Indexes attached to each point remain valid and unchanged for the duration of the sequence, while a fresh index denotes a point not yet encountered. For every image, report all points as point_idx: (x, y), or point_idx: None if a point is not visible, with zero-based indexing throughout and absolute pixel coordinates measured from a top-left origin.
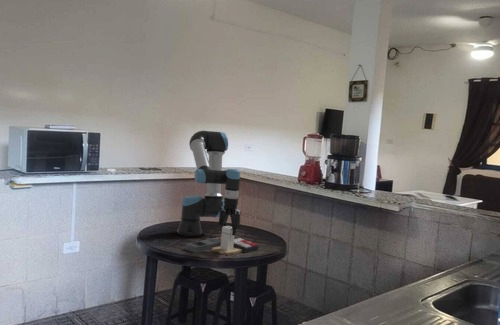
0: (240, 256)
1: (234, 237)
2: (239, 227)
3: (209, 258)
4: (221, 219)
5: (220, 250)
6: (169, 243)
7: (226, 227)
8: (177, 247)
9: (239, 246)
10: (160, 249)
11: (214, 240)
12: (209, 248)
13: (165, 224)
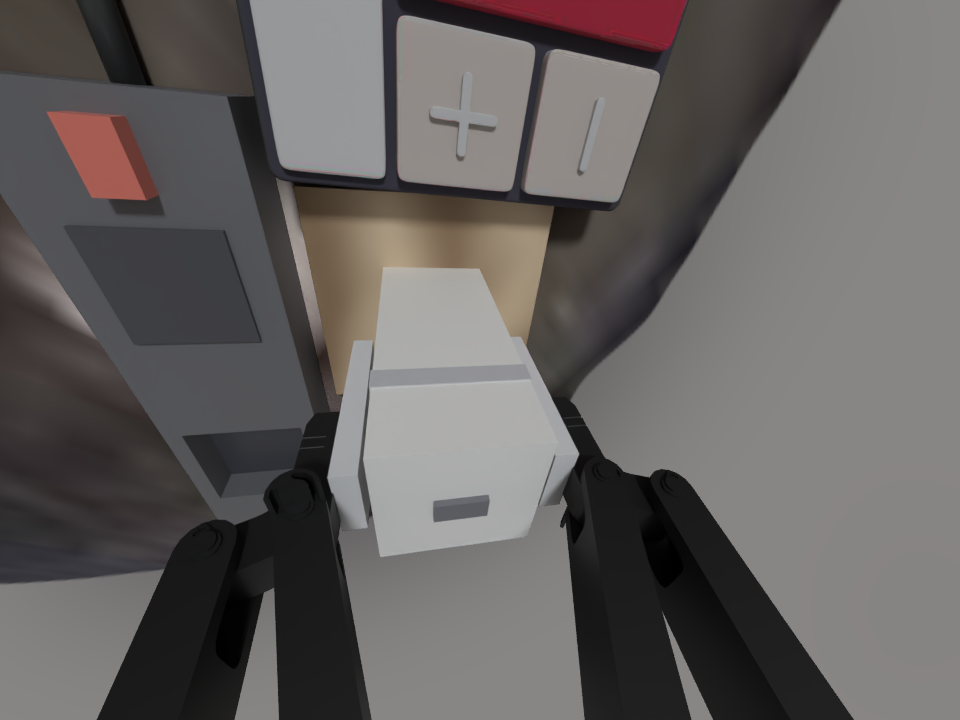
0: (593, 317)
1: (532, 361)
2: (693, 489)
3: None
4: (226, 703)
5: None
6: (24, 506)
7: (448, 531)
8: (170, 505)
9: (518, 202)
10: None
11: (192, 309)
12: (322, 394)
13: None
